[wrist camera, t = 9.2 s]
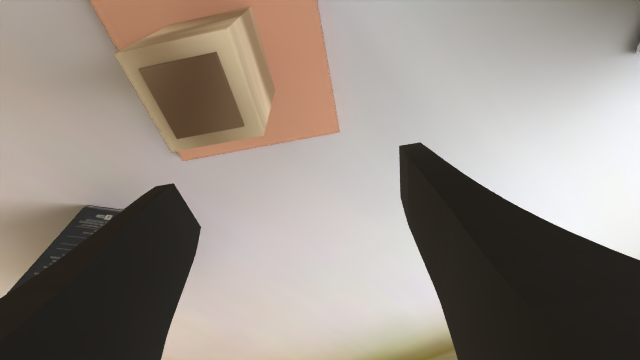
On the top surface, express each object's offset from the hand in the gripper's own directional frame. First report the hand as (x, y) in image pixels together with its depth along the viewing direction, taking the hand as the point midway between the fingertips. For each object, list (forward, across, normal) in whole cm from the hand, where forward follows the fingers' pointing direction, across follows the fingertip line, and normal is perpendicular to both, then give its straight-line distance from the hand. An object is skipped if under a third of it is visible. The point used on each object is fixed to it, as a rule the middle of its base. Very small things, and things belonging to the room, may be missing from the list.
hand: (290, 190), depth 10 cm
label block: (+8, +3, -2) cm, 9 cm away
